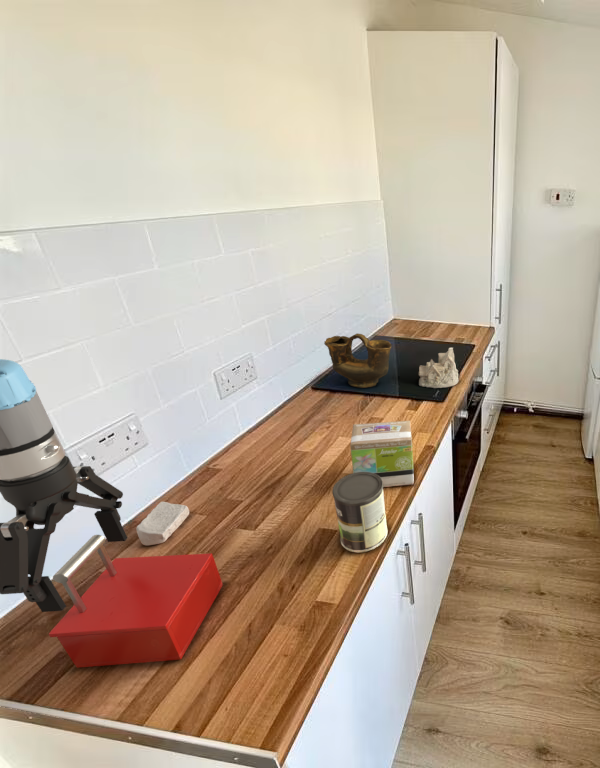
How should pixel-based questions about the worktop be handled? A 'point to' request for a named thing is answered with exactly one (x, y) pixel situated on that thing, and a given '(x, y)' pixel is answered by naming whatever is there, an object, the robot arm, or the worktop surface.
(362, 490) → the coffee can
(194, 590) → the box
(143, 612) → the lid
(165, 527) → the soap bar
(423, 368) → the ceramic cottage
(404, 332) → the worktop surface
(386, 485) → the tea box
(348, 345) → the pottery vessel
